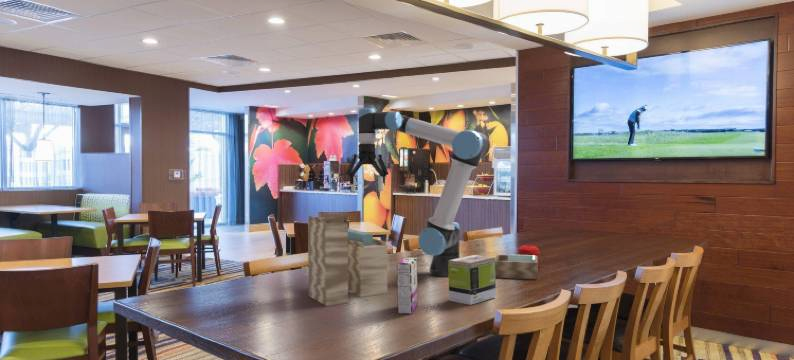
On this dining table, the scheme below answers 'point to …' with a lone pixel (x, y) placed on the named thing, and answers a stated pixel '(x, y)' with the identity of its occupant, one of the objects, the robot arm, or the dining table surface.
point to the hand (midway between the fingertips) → (367, 191)
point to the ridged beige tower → (367, 268)
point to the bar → (360, 237)
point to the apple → (529, 250)
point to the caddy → (515, 268)
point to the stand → (328, 258)
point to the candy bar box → (407, 285)
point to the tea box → (472, 279)
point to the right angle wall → (521, 258)
